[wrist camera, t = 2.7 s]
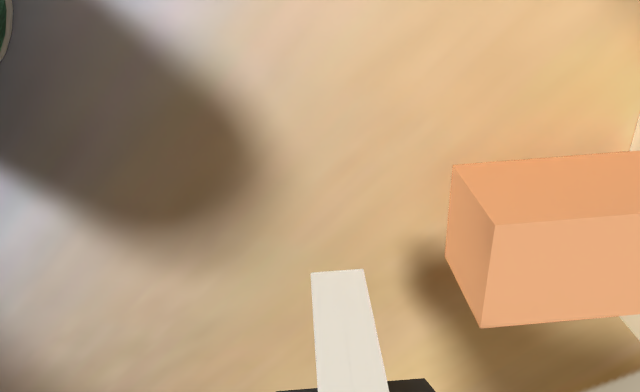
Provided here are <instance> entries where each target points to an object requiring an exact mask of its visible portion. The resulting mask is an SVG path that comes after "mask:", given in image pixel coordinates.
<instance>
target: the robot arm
mask: <svg viewBox="0 0 640 392" xmlns="http://www.w3.org/2000/svg"><path fill="white" fill-rule="evenodd" d="M311 287H312V303H313V320H314V337H315V353H316V370H317V386H318V388H313V389H301V390H288V391H276V392H435V391H434V389H433V388H432V387H431V386H430V385H429V383H428V382H427V381H426V380H425V378H423V379H410V380H398V381H387V378H386V374H385V369H384V364H383V360H382V355H381V350H380V346H379V341H378V336H377V331H376V327H375V322H374V317H373V313H372V308H371V303H370V298H369V294H368V289H367V284H366V280H365V275H364V270H363V269H354V270H341V271H328V272H314V273H311Z"/></svg>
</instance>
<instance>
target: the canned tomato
mask: <svg viewBox="0 0 640 392" xmlns="http://www.w3.org/2000/svg"><path fill="white" fill-rule="evenodd" d="M12 20H13V5H12V0H0V62H1V60H2V59H3V57H4V55H5V54H6V51H7V47H8V44H9V40H10V37H11V34H12Z"/></svg>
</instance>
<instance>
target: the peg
mask: <svg viewBox="0 0 640 392" xmlns="http://www.w3.org/2000/svg"><path fill="white" fill-rule="evenodd" d="M445 258H446V260H447V262H448V264H449V266H450V268H451V270H452V272H453V274H454V276H455V278H456V280H457V282H458V284H459V286H460V288H461V290H462V293H463V295H464V297H465V299H466V301H467V303H468V305H469V307H470V309H471V311H472V313H473V315H474V317H475V319H476V321H477V323H478V325H479V327H480V329H481V328H492V327H504V326H515V325H526V324H537V323H548V322H559V321H570V320H581V319H593V318H604V317H615V316H626V315H637V314H640V151H627V152H615V153H602V154H589V155H576V156H563V157H550V158H537V159H525V160H512V161H499V162H486V163H473V164H460V165H453V167H452V179H451V190H450V201H449V212H448V224H447V235H446V246H445Z"/></svg>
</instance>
